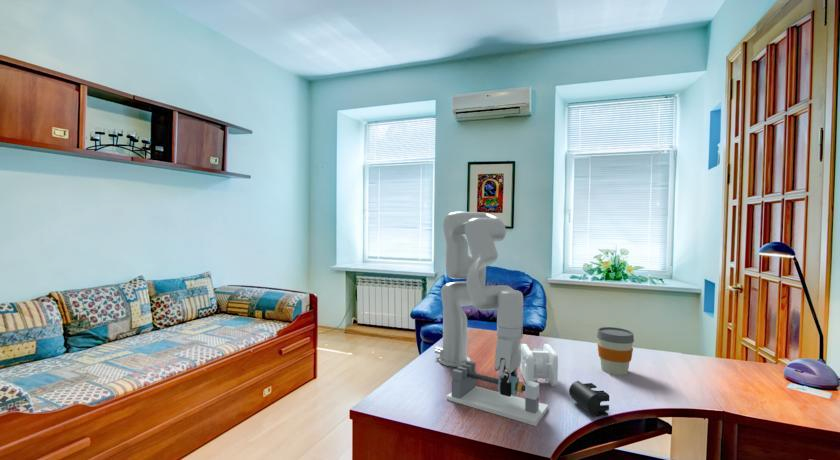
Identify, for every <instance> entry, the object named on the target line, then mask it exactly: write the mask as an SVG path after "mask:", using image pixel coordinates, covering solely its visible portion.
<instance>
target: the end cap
mask: <svg viewBox="0 0 840 460" xmlns="http://www.w3.org/2000/svg"><path fill="white" fill-rule="evenodd" d="M596 388H598V387H597V385H595V384H594V383H593V382H590V383H589V382H588V383H587V382H586V383H583V382H581V381H579V380H576V381H574V382H572V383H571V385H570V386H569V391H568V392H569V396H570V398H571V399H572V400H574V402H575V403H577V404H578V405H580V407H582V408H583V409H584V410H586V411H587V412H588V413H589V414H591V415H592V416H593V417H596V418H598V417H607V416H609V413H608V411H610V405H609V404H601V403H602V402H610V395H609V393H607V392H605V391H604V390H595V389H596Z"/></svg>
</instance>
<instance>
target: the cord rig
mask: <svg viewBox="0 0 840 460" xmlns="http://www.w3.org/2000/svg"><path fill="white" fill-rule="evenodd" d="M476 364H477V363H476V362H473V361H470V362H469V361H467V362H466V364H462V365H461V367H456V369H452V373H451V374H452V379H451V392H450V393H448V394H447V395H446V400H447V401H450V402H454V403H458V404H461V405H464V406H466V407H467V406H468V407H470V408H474V409H477V410H481V411H484V412H488V413H491V414H494V415H497V416H501V417H504V418H508V419H512V420H515V421H517V422H521V423H525V424H527V425H531V426H535V427H536V426H537V425H538V424H539V423H540V421H541V420H542V418H543V417H544V415H545V414H546V412H547V411H548V409H549V404H547V403H541V402H540V383H539V382H535V381H534V382H532V381H529V382H528V383H527V384H526V383H524V382H522V381H519V383H518V384H517V383H516V386H515V389H517V393H520V394H522V393H524V397H525V398H523V397H521V396H520V397H519V396H516V395H511V396H510V397H509V396H505V395H501V394H500V392H499V391H498V390H497V391H496V390H492V389H488V388H484V387H481V386H477V385H476V384H477V380H479V381H482V382H485V383H486V382H487V383H491V384H493V385H498V378H496V377H492V376H487V375H484V374H480V373H477V371H476V366H477V365H476Z"/></svg>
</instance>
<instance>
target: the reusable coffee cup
mask: <svg viewBox="0 0 840 460" xmlns="http://www.w3.org/2000/svg"><path fill="white" fill-rule="evenodd" d="M596 338H597V341H598V342H597V351H598V353H597V354H598V356H599V358H600V359H599V360H600V367H601V371H603V372H604V373H606V374H609V375H614V376H626V375H628V373H629V369H630V368H629V367H630V362H631V361H632V356H633V352H634V351H633V350H634V348H633V344H634V342H635V339H634V332H632V331H631V330H629V329H624V328H620V327H612V326H604V327H603V326H602V327H599V328H598V329H597V334H596Z"/></svg>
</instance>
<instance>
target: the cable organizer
mask: <svg viewBox="0 0 840 460" xmlns="http://www.w3.org/2000/svg"><path fill="white" fill-rule="evenodd" d="M542 349H543V351H535V350H531V349H530V347H529V346H528V344H527V343H521V363H520V365H519V371H520V374H521V376H522V378H523V380H524V382H525V385H526V384H527V383H528V382H529V381H532V382H535V381H536V383H538V379H544V381H545V382H544V383H547V382H549V384H550V386H551V387H553V388H554V387H557V386H558V378H559V377H558V375H559V372H558V371H559V370H558V369H559V358H558V353H557V352H556V351H555V350H554V349H553V348H552V346H551V345H550V344H549V343H544V344H543V348H542Z"/></svg>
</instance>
